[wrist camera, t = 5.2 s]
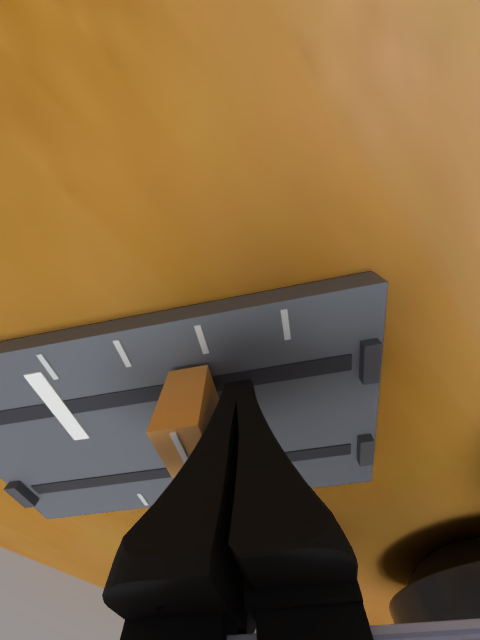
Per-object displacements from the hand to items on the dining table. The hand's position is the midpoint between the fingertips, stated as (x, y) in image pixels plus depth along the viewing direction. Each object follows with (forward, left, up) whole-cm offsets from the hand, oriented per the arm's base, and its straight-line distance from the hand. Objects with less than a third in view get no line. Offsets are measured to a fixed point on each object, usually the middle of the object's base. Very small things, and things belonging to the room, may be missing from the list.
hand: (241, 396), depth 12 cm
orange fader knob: (0, +2, -1) cm, 3 cm away
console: (-3, +5, -3) cm, 7 cm away
